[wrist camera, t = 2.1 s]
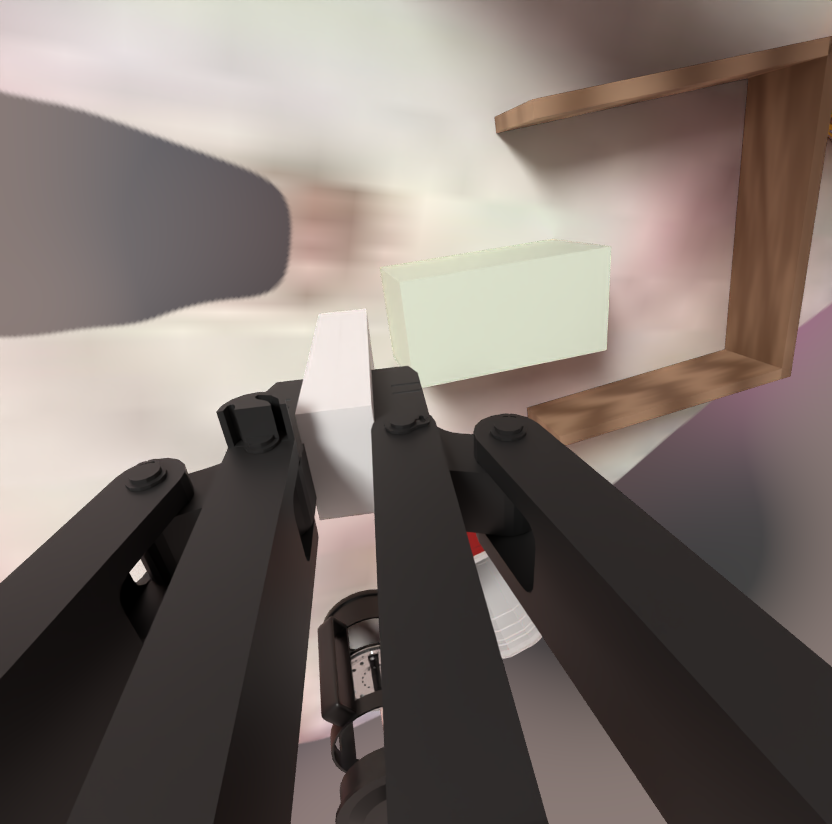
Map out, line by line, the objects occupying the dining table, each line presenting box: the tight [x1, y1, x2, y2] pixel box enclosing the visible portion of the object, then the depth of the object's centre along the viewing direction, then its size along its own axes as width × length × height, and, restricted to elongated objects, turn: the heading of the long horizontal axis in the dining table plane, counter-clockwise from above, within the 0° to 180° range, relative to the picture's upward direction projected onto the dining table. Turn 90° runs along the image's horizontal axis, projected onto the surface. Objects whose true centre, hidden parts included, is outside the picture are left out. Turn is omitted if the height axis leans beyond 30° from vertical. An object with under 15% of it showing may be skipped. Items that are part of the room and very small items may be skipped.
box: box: [495, 36, 832, 446], centre depth 37 cm, size 22×24×6 cm
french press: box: [318, 590, 388, 824], centre depth 38 cm, size 12×9×23 cm
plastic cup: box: [467, 532, 542, 659], centre depth 41 cm, size 11×11×12 cm
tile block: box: [380, 239, 611, 388], centre depth 34 cm, size 14×7×8 cm, turn 98°
